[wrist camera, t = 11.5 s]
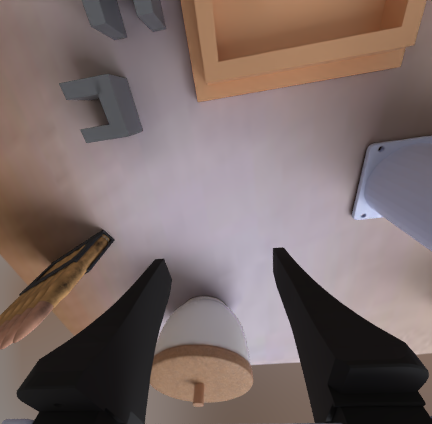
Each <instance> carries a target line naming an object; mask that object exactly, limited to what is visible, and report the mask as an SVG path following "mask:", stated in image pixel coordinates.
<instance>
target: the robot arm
mask: <svg viewBox="0 0 432 424" xmlns="http://www.w3.org/2000/svg"><path fill="white" fill-rule="evenodd" d="M379 147H381V149H380V150H379V151H378V149H379ZM362 214H363V215H362ZM361 215H362V216H361ZM381 217H384V218H386V219H387V220H389V221H390V222H391V223H393V224H394V225H396V226H397V227H398V228H400V229H401V230H403V231H404V232H405V233H407V234H408V235H410V236H411V237H412V238H414V239H415V240H417V241H418V242H419V243H421V244H422V245H423V246H425V247H426V248H428V249H429V250H430V251H432V135H431V136H423V137H416V138H409V139H402V140H395V141H388V142H380V143H374V144H371V145H370V146H369V147H368V149H367V152H366V156H365V160H364V165H363V169H362V173H361V178H360V182H359V186H358V191H357V195H356V199H355V204H354V208H353V212H352V218H353V219H355V220H362V219H371V218H381ZM273 273H274V277H275V281H276V285H277V288H278V291H279V294H280V297H281V300H282V302H283V305H284V308H285V311H286V313H287V316H288V319H289V322H290V325H291V328H292V331H293V335H294V339H295V343H296V346H297V350H298V354H299V358H300V362H301V366H302V370H303V374H304V378H305V382H306V386H307V391H308V395H309V399H310V404H311V408H312V412H313V416H314V421H315V423H302V424H432V416H431V417H430V416H429V414H428V413H427V411H426V410H425V409H424V407H423V406H424V405H425V401H424V400H423V398H422V397H421V395H420V394H419V392H418V390H419V389H420V388H421V387H422V386H423V385H424V383H425V382H426V381H427V379H428V377H429V373H428V370H427V369H426V368H425V366H424V365H423V364H422V362H421V361H420V360H419V358H418V357H417V356H416V355H415V353H414V352H413V351H412V350H411V349H410V348H409V347H408V345H407V344H406V343H405V342H403V341H401V340H400V339H398V338H396V337H394V336H393V335H391V334H389V333H387V332H385V331H384V330H382V329H380V328H378V327H377V326H375V325H373V324H372V323H370V322H369V321H367V320H366V319H364V318H362V317H361V316H359V315H358V314H356V313H355V312H354V311H352V310H351V309H349V308H348V307H346V306H345V305H343V304H342V303H341V302H339V301H338V300H337V299H336V298H334V297H333V296H332V295H330V294H329V293H328V292H327V291H326V290H324V289H323V288H322V287H321V286H320V285H319V284H318V283H316V282H315V281H314V280H313V279H312V278H311V277H310V276H309V275H308V274H307V273H306V272H305V271H304V270H303V269H302V268H301V267H300V266H299V265H298V264H297V263H296V262H295V260H294V259H293V258H292V257H291V256H290V255H289V253H288V252H287V251H286V250H285V249H284V248H283V247H282V248H273ZM171 282H172V279H171V276H170V273H169V271H168V268H167V266H166V263H165V260H164V259H155V260H154V261H153V263H152V264H151V265H150V266H149V267H148V268H147V270H146V271H145V272H144V273H143V274H142V275H141V276H140V278H139V279H138V280H137V281H136V282H135V283H134V284H133V285H132V286H131V288H130V289H129V290H128V291H127V292H126V293H125V294H124V295H123V296H122V297H121V298H120V299H119V300H118V301H117V302H116V303H115V304H114V305H113V306H111V307H110V308H109V309H108V310H107V311H106V312H105V313H104V314H102V315H101V316H100V317H99V318H97V319H96V320H95V321H94V322H93V323H91V324H90V325H89V326H88V327H86V328H85V329H84V330H82V331H81V332H80V333H78V334H77V335H75V336H74V337H73V338H71V339H70V340H68V341H67V342H66V343H64V344H63V345H61V346H59V347H58V348H56V349H55V350H53V351H52V352H50V353H49V354H47V355H46V356H44V357H42V358H41V359H39V361H38V362H37V364H36V365H35V366H34V368H33V369H32V371H31V372H30V374H29V375H28V376H27V378H26V379H25V380H24V382H23V383H22V385H21V386H20V388H19V389H18V390H17V397H18V398H19V399H20V400H21V401H22V402H24V403H25V404H27V405H29V406H31V407H32V408H34V409H36V410H37V411H39V414H38V415H37V417H36V419H35V420H30V419H6V420H4V421H3V422H2V424H145V415H146V406H147V399H148V390H149V384H150V378H151V371H152V365H153V359H154V353H155V348H156V343H157V338H158V334H159V330H160V326H161V323H162V319H163V316H164V312H165V309H166V305H167V302H168V298H169V295H170V289H171ZM297 424H298V423H297ZM300 424H301V423H300Z"/></svg>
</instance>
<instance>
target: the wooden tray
mask: <svg viewBox="0 0 432 424" xmlns="http://www.w3.org/2000/svg"><path fill="white" fill-rule="evenodd" d="M180 1H181V7H182V12H183V18H184V24H185V30H186V36H187V42H188V48H189V54H190V59H191V65H192V71H193V77H194V83H195V89H196V95H197V100H198V102H202V101H208V100H214V99H220V98H225V97H231V96H237V95H243V94H248V93H254V92H260V91H266V90H271V89H277V88H283V87H289V86H294V85H300V84H306V83H312V82H317V81H323V80H329V79H335V78H340V77H346V76H352V75H358V74H364V73H369V72H375V71H381V70H387V69H392V68H397V67H401V63H402V59H403V55H404V52H405V48H406V47H409V46H412V45H414V44H415V40H416V37H417V33H418V30H419V26H420V22H421V19H422V15H423V12H424V8H425V4H426V1H427V0H180Z"/></svg>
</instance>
